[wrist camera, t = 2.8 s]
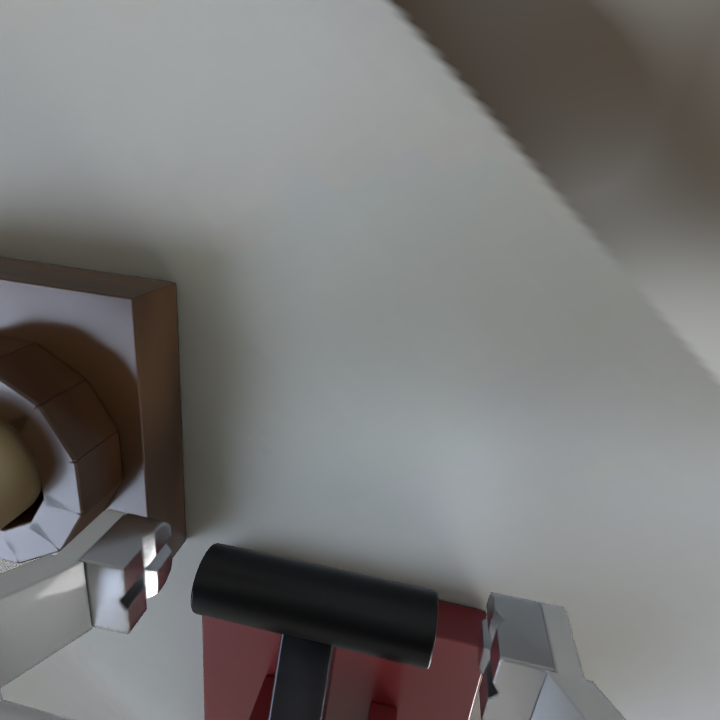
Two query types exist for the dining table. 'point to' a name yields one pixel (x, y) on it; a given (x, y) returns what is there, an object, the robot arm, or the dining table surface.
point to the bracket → (347, 674)
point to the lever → (314, 619)
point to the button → (16, 475)
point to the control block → (90, 400)
